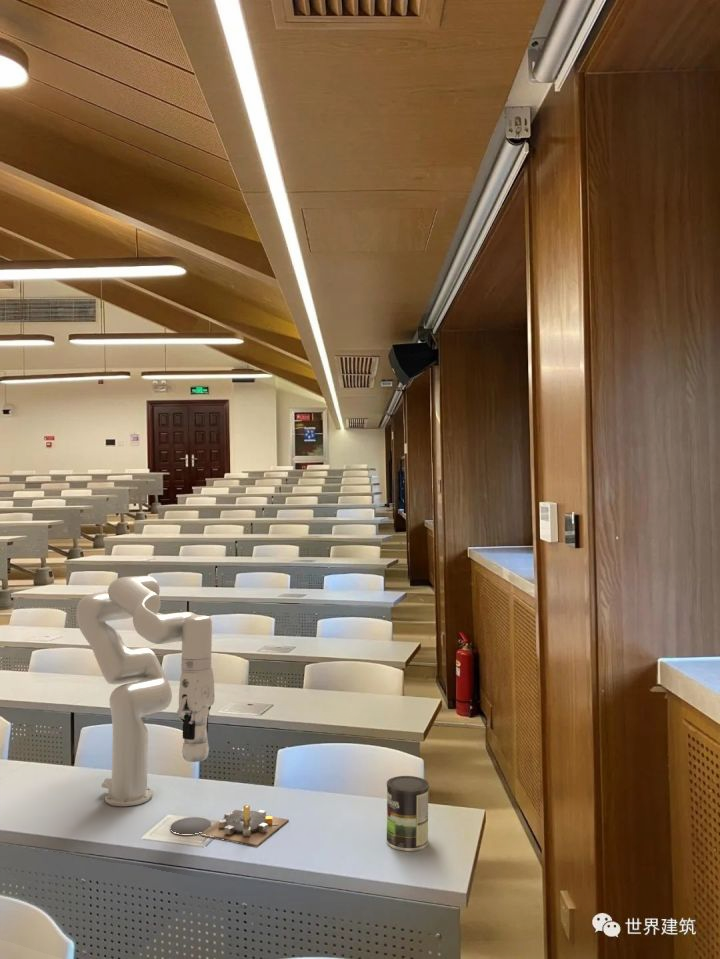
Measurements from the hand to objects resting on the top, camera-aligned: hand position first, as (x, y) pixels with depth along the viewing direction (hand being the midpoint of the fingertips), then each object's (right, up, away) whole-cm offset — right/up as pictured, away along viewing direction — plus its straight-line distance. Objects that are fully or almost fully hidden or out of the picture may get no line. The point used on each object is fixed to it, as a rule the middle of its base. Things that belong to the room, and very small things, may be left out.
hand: (195, 735), depth 189 cm
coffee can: (+54, -23, -10) cm, 59 cm away
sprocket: (+13, -23, -3) cm, 26 cm away
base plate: (+13, -23, -3) cm, 26 cm away
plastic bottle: (0, -7, 0) cm, 7 cm away
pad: (-1, -22, -3) cm, 23 cm away
